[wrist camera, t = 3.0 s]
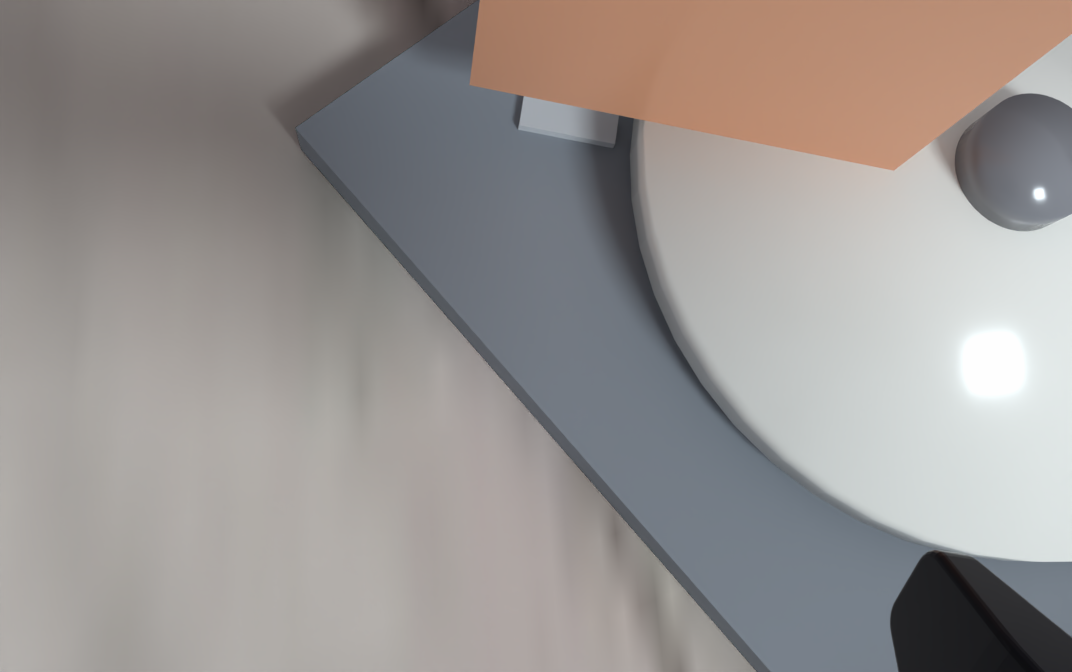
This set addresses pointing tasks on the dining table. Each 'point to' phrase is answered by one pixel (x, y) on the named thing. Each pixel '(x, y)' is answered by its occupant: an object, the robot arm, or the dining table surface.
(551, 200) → the board
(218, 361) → the dining table surface
